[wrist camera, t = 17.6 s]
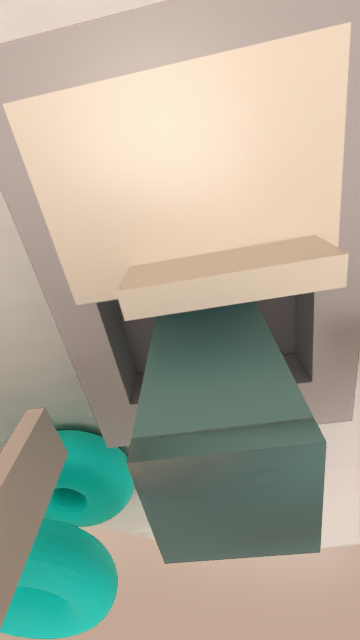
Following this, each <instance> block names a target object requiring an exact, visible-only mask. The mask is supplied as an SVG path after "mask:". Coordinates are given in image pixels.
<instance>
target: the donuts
mask: <svg viewBox="0 0 360 640" xmlns="http://www.w3.org/2000/svg"><path fill="white" fill-rule="evenodd" d="M57 433H58V434H59V436H60V438H61V440H62V442H63V444H64V446H65V448H66V450H67V452H68V455H67V457H66V460H65V463H64V465H63V468H62V470H61V473H60V476H59V478H58V481H57V483H56V486H55V489H54V491H53V494H52V496H51V499H50V502H49V504H48V507H47V509H46V512H45V515H44V517H43V520H42V522H41V525H40V528H39V530H38V533H37V535H36V538H35V541H34V543H33V546H32V548H31V551H30V554H29V556H28V559H27V561H26V564H25V567H24V569H23V572H22V574H21V577H20V580H19V582H18V585H17V587H16V590H15V593H14V595H13V598H12V600H11V603H10V606H9V608H8V611H7V613H6V616H5V619H4V621H3V624H2V626H1V629H0V632H1V633H5V634H8V635H12V636H18V637H25V638H33V639H56V638H65V637H70V636H74V635H78V634H80V633H83V632H85V631H87V630H89V629H91V628H93V627H94V626H96V625H97V624H98V623H99V622H100V621H101V620H103V618H104V617H105V616H106V615H107V614H108V612H109V610H110V609H111V607H112V605H113V603H114V600H115V597H116V593H117V586H118V576H117V571H116V567H115V564H114V561H113V559H112V557H111V555H110V553H109V552H108V550H107V549H106V548H105V547H104V545H103V544H102V543H101V542H100V541H99V540H98V539H96V538H95V537H94V536H92V535H91V534H89V533H87V532H86V531H84V530H82V529H80V528H78V527H85V526H92V525H96V524H100V523H102V522H105V521H107V520H109V519H111V518H112V517H114V516H115V515H117V514H118V513H119V512H120V511H121V510H122V509H123V508H124V507H125V506H126V504H127V503H128V501H129V500H130V498H131V495H132V492H133V489H134V482H133V480H132V477H131V474H130V472H129V469H128V467H127V464H126V462H127V456H126V455H125V454H124V453H123V452H122V450H120V449H119V448H118V447H114V448H107V446H106V443H105V441H104V439H103V437H101V436H98V435H95V434H92V433H89V432H84V431H77V430H61V431H57Z"/></svg>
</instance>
